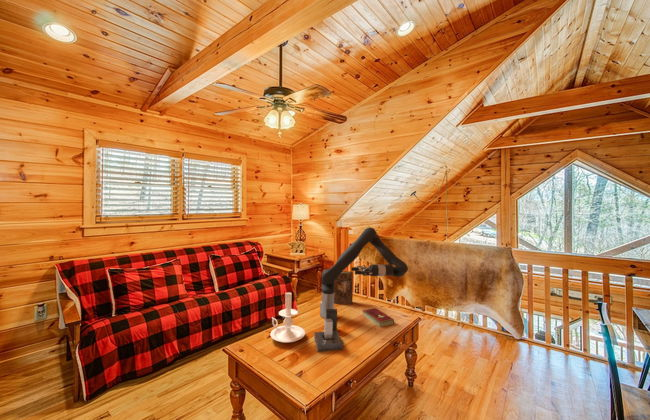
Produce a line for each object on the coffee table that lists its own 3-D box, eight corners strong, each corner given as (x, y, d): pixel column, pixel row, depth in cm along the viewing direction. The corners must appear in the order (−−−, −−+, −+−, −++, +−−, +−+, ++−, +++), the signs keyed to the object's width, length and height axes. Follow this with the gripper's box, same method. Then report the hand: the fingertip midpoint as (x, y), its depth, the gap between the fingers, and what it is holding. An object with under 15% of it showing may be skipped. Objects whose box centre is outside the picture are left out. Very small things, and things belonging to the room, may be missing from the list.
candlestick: (283, 324, 180) (284, 283, 179) (312, 337, 165) (313, 291, 164) (258, 336, 164) (259, 291, 163) (287, 351, 149) (288, 301, 148)
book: (331, 303, 219) (332, 272, 218) (332, 300, 225) (333, 270, 224) (352, 304, 217) (353, 273, 216) (352, 301, 223) (353, 271, 222)
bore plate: (317, 351, 149) (317, 344, 149) (314, 338, 163) (314, 332, 163) (342, 349, 152) (342, 342, 151) (337, 337, 165) (337, 330, 165)
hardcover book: (375, 312, 204) (375, 307, 203) (394, 324, 185) (394, 318, 185) (361, 315, 198) (362, 309, 198) (379, 328, 179) (379, 321, 179)
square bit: (325, 346, 155) (325, 322, 154) (323, 342, 159) (324, 319, 158) (332, 345, 156) (332, 321, 155) (330, 342, 160) (331, 318, 159)
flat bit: (326, 331, 172) (326, 310, 172) (325, 329, 175) (325, 308, 174) (336, 330, 174) (337, 309, 173) (336, 328, 176) (336, 308, 175)
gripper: (373, 262, 184) (350, 262, 182) (381, 267, 170) (356, 267, 168) (373, 272, 185) (350, 273, 182) (381, 279, 171) (356, 279, 168)
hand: (353, 270), depth 175 cm, fingers open, 8 cm apart
